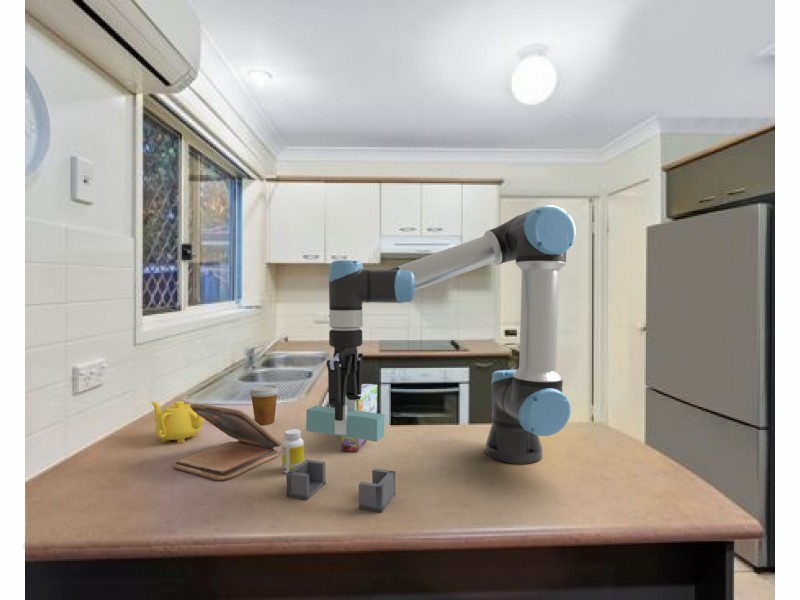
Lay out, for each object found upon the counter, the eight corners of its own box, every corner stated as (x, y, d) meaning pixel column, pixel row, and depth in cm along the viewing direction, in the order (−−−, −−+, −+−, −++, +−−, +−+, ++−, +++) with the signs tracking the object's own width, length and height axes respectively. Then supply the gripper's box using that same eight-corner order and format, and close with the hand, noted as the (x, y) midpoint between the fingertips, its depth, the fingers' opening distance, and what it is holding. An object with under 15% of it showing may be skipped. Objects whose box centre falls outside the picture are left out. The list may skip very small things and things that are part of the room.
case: (285, 455, 122) (284, 397, 122) (223, 484, 104) (221, 416, 104) (233, 444, 132) (232, 391, 132) (168, 469, 113) (166, 407, 113)
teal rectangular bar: (384, 436, 99) (384, 414, 99) (376, 441, 96) (377, 418, 95) (315, 426, 106) (315, 405, 106) (306, 430, 102) (306, 409, 102)
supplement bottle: (308, 467, 113) (307, 429, 113) (296, 475, 108) (296, 435, 108) (290, 464, 115) (289, 427, 115) (277, 472, 110) (277, 433, 109)
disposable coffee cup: (284, 421, 154) (284, 386, 153) (263, 428, 145) (262, 392, 145) (266, 417, 159) (265, 384, 158) (244, 423, 151) (243, 389, 150)
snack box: (359, 453, 123) (358, 399, 122) (340, 451, 124) (339, 398, 124) (378, 429, 143) (377, 383, 143) (361, 428, 145) (361, 382, 144)
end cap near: (359, 508, 91) (358, 484, 91) (374, 491, 99) (374, 468, 99) (381, 512, 89) (381, 487, 89) (395, 494, 97) (395, 471, 97)
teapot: (130, 445, 130) (129, 407, 130) (167, 430, 145) (166, 395, 144) (189, 450, 126) (188, 410, 126) (221, 433, 140) (220, 398, 140)
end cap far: (325, 483, 103) (325, 461, 103) (306, 500, 95) (306, 476, 95) (306, 481, 105) (306, 459, 104) (286, 496, 97) (286, 473, 97)
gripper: (348, 325, 109) (348, 419, 110) (311, 331, 93) (311, 440, 94) (376, 326, 107) (375, 422, 107) (342, 332, 91) (342, 445, 91)
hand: (345, 430), depth 101 cm, fingers closed on teal rectangular bar, 4 cm apart
